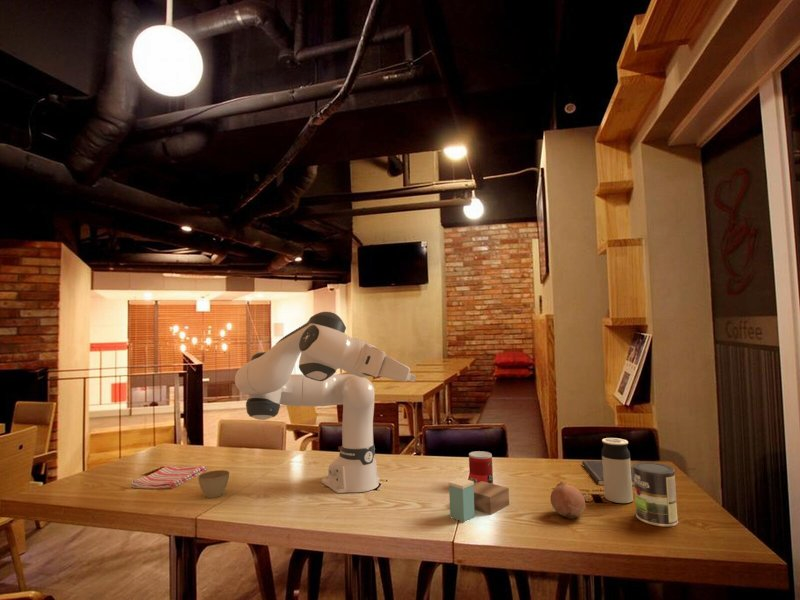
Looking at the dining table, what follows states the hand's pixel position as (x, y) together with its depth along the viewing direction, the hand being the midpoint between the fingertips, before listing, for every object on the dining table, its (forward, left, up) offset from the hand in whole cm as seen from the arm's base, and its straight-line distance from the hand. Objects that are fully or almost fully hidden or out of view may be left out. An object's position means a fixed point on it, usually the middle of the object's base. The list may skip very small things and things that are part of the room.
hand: (405, 376), depth 119 cm
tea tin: (+2, +19, -42) cm, 46 cm away
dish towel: (-105, -27, -43) cm, 116 cm away
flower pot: (-73, -23, -42) cm, 87 cm away
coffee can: (+43, +54, -42) cm, 81 cm away
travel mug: (+30, +62, -42) cm, 81 cm away
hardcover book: (+20, +85, -43) cm, 98 cm away
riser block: (+2, +31, -42) cm, 53 cm away
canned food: (-9, +44, -42) cm, 62 cm away
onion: (+24, +40, -42) cm, 63 cm away
